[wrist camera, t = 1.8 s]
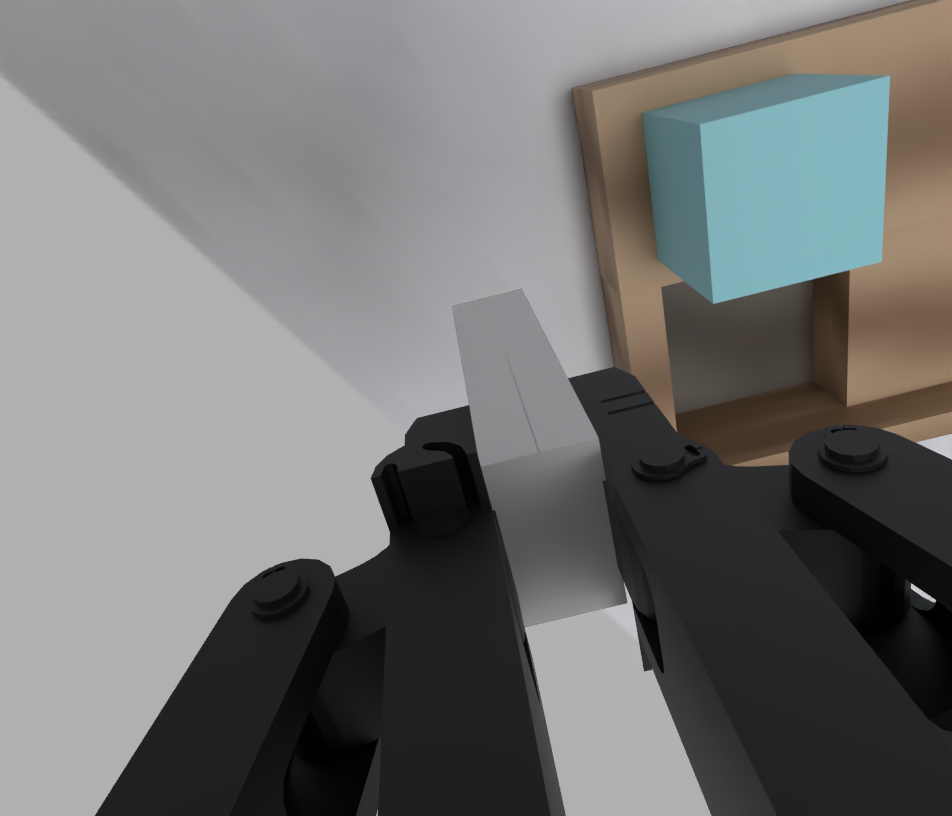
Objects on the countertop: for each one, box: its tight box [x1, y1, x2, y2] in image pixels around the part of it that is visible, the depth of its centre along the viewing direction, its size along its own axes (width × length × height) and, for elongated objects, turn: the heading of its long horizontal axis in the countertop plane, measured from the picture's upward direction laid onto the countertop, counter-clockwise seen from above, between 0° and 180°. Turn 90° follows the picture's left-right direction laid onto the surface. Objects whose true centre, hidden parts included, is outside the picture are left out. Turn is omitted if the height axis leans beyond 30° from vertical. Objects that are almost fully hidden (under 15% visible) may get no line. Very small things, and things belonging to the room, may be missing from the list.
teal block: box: [642, 74, 890, 304], centre depth 21 cm, size 5×5×5 cm
